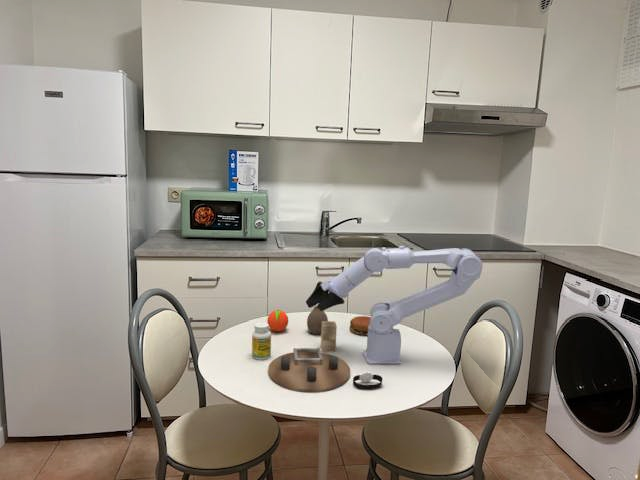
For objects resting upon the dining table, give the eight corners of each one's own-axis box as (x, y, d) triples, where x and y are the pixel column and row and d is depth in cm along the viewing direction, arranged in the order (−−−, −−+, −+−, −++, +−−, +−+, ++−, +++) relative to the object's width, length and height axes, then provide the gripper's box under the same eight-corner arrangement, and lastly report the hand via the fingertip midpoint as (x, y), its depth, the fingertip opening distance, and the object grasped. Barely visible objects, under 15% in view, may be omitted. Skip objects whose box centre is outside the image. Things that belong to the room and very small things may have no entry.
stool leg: (333, 346, 144) (334, 321, 142) (335, 351, 140) (336, 326, 138) (320, 346, 143) (321, 321, 142) (322, 351, 139) (323, 326, 138)
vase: (327, 336, 150) (328, 311, 149) (306, 336, 150) (307, 310, 149) (327, 329, 157) (328, 304, 156) (307, 328, 157) (308, 303, 156)
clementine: (287, 336, 149) (287, 315, 148) (265, 335, 149) (265, 314, 148) (288, 327, 157) (289, 307, 156) (268, 326, 157) (268, 306, 156)
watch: (379, 381, 123) (380, 368, 122) (384, 390, 118) (385, 377, 117) (350, 382, 121) (351, 369, 121) (354, 391, 117) (355, 378, 116)
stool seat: (343, 354, 138) (343, 341, 137) (356, 391, 116) (357, 376, 116) (268, 354, 135) (268, 341, 135) (268, 393, 114) (268, 378, 113)
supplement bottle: (265, 351, 138) (266, 320, 136) (273, 358, 134) (274, 326, 132) (248, 354, 135) (249, 323, 133) (256, 361, 131) (257, 329, 129)
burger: (344, 327, 159) (345, 314, 158) (368, 325, 163) (369, 312, 162) (357, 338, 150) (358, 325, 149) (383, 335, 154) (384, 322, 153)
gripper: (352, 272, 141) (318, 299, 144) (332, 262, 128) (295, 291, 131) (364, 291, 138) (329, 318, 141) (345, 282, 125) (307, 312, 128)
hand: (313, 306), depth 136 cm, fingers open, 7 cm apart
